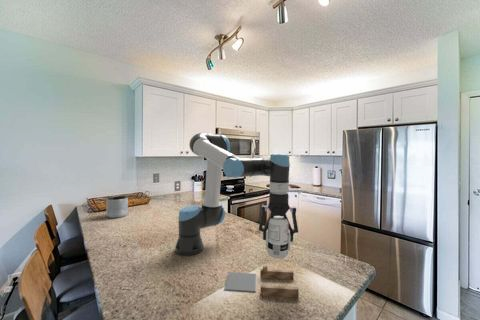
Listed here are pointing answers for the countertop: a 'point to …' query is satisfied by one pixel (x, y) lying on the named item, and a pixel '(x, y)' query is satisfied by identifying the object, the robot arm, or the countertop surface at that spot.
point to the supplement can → (278, 237)
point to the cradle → (278, 290)
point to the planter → (116, 206)
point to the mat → (240, 282)
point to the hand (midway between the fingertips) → (277, 248)
